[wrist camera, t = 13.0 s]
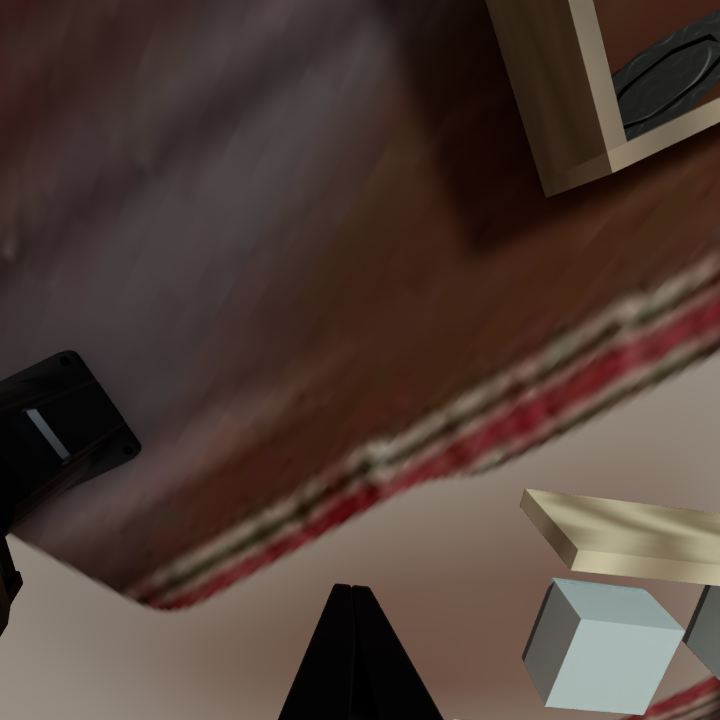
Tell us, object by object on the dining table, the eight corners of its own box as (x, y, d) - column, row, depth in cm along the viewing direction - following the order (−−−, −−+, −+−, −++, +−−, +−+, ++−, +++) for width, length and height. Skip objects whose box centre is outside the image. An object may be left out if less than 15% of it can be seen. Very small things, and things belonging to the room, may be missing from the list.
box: (449, 730, 26) (474, 834, 21) (525, 488, 22) (578, 549, 17) (734, 746, 29) (815, 843, 24) (855, 530, 24) (985, 594, 19)
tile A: (521, 657, 26) (544, 706, 23) (551, 577, 24) (581, 618, 21) (609, 666, 26) (643, 715, 23) (644, 589, 25) (685, 631, 22)
